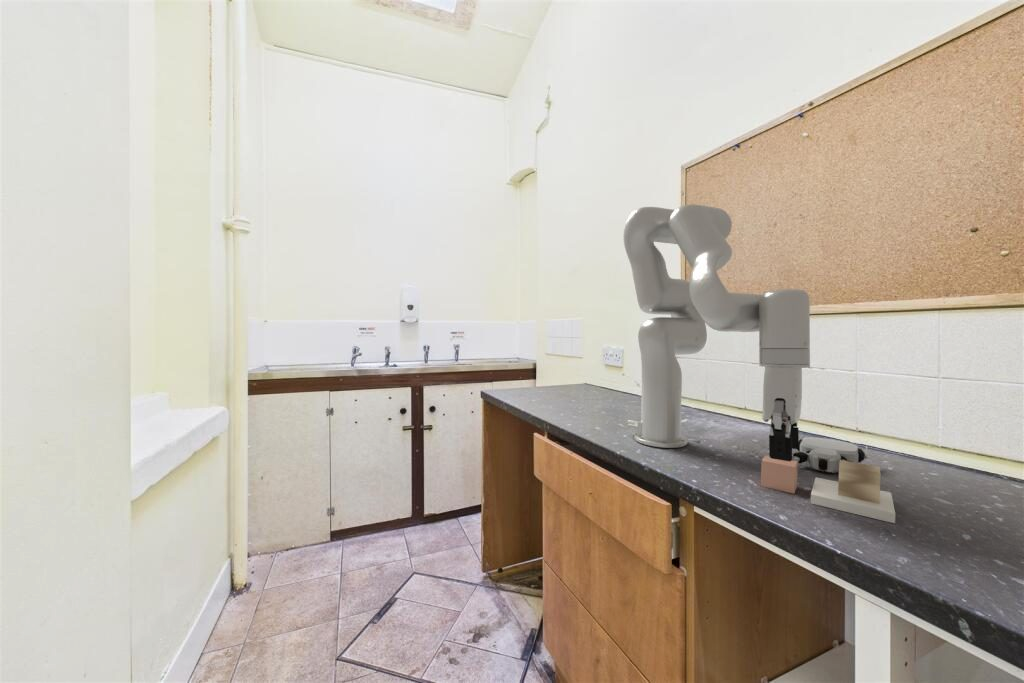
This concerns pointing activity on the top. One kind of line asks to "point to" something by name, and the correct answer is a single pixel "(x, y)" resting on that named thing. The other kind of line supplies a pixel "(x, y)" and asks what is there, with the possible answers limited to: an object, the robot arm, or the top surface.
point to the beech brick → (859, 481)
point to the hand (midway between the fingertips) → (784, 453)
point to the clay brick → (779, 474)
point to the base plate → (852, 501)
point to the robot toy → (827, 453)
